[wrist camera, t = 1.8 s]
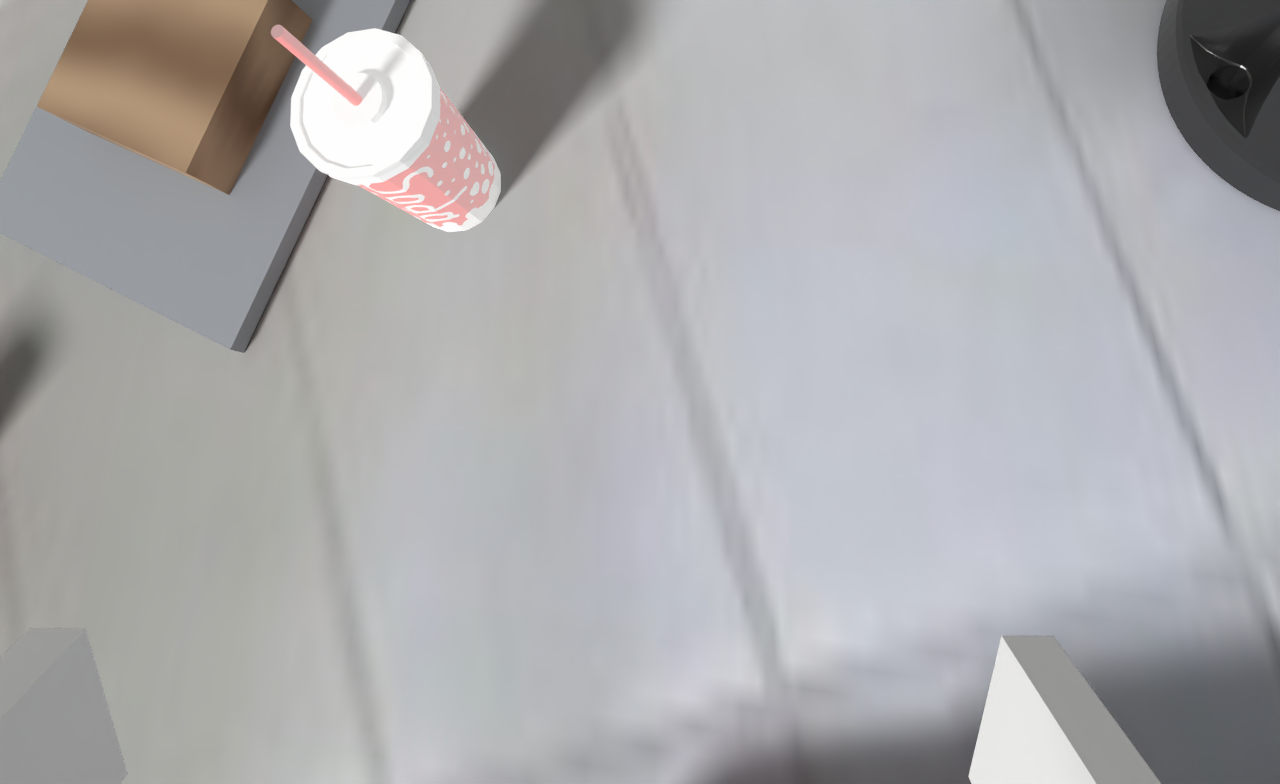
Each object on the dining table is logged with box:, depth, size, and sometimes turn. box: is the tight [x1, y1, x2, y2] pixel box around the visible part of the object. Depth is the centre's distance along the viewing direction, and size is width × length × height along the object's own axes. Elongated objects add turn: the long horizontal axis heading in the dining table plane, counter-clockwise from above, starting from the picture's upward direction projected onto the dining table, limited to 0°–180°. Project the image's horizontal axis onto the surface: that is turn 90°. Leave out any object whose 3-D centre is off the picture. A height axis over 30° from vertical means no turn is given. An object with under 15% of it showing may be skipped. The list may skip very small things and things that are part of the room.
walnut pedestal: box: [37, 0, 312, 195], centre depth 42 cm, size 10×10×4 cm
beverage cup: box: [271, 24, 501, 232], centre depth 34 cm, size 6×6×14 cm
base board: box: [0, 0, 410, 353], centre depth 44 cm, size 24×18×1 cm
